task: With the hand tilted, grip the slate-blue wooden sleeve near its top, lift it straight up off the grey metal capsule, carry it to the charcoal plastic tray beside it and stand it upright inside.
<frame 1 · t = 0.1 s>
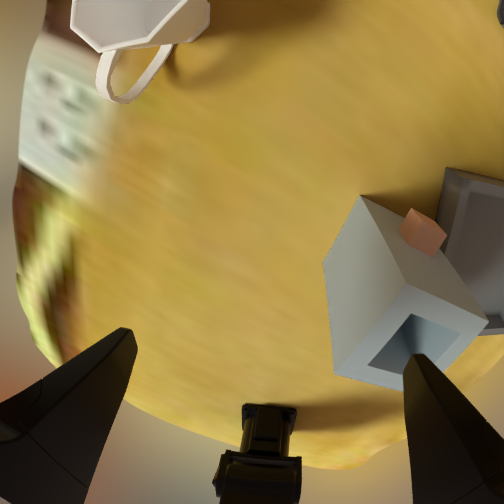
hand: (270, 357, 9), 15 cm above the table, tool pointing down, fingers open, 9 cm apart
tray: (481, 254, 22), on the table
sleeve: (374, 245, 23), on the table
cup: (173, 36, 17), on the table
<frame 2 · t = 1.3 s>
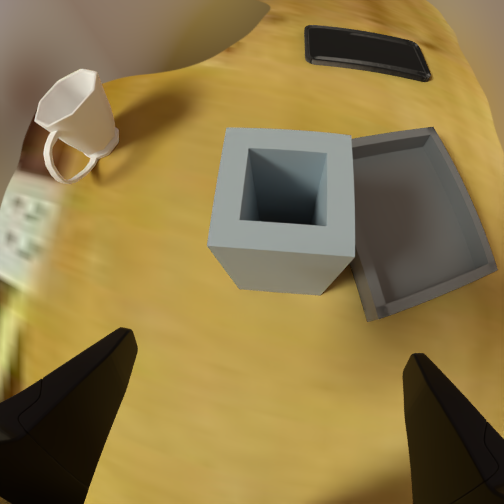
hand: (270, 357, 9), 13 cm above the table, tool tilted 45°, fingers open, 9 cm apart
tray: (403, 220, 24), on the table
sleeve: (282, 253, 24), on the table
cup: (98, 155, 28), on the table
phone: (366, 54, 30), on the table
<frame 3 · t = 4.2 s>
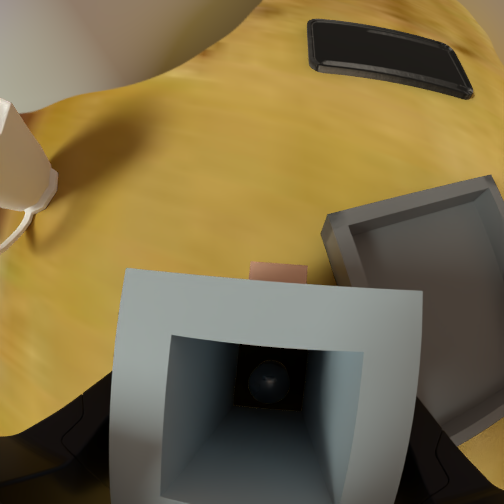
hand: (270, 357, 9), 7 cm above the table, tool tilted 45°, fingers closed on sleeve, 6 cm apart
grey metal capsule: (270, 376, 16), on the table
tray: (443, 316, 15), on the table
sleeve: (270, 376, 16), on the table, touching gripper
cup: (34, 208, 20), on the table
phone: (389, 59, 22), on the table
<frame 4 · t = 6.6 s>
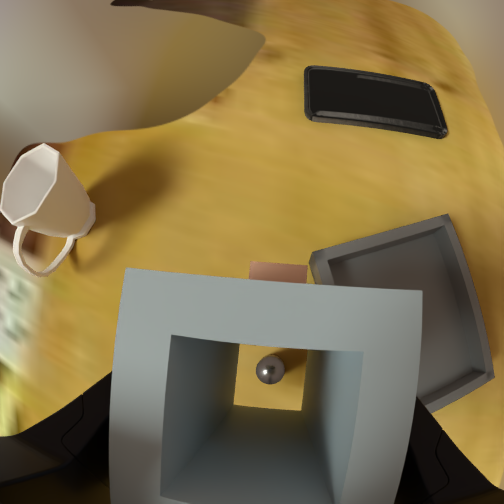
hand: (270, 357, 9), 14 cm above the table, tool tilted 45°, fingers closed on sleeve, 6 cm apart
grey metal capsule: (271, 366, 22), on the table
tray: (403, 324, 22), on the table
sleeve: (270, 376, 16), point 6 cm above the table, touching gripper
cup: (75, 234, 26), on the table
phone: (374, 103, 28), on the table
when the fingers open (9 cm above the table, at t = 9.2 s): sleeve drops 1 cm, resting on tray.
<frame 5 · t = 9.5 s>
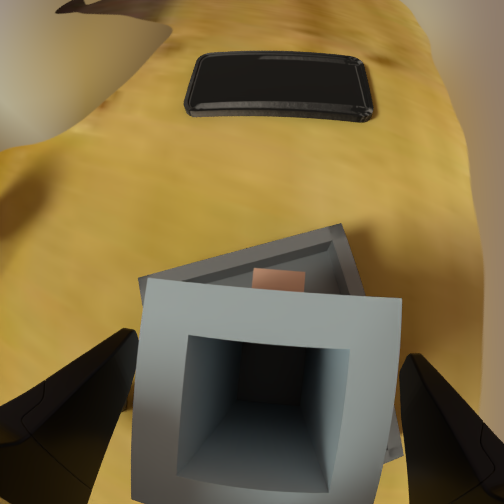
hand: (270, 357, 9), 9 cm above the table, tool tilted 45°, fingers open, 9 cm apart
tray: (271, 372, 17), on the table
sleeve: (271, 373, 17), point 1 cm above the table, touching tray
phone: (279, 87, 24), on the table
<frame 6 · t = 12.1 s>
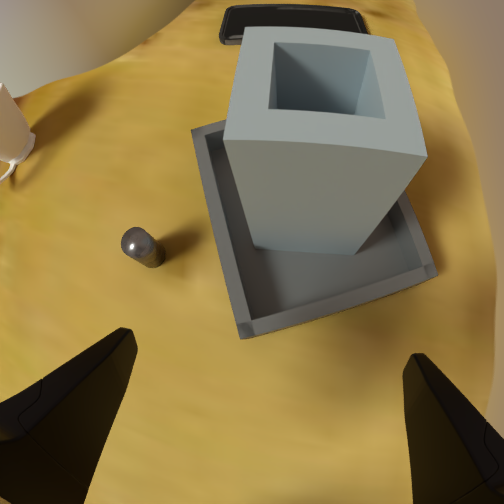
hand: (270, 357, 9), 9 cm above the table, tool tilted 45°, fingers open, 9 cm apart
grey metal capsule: (153, 254, 20), on the table
tray: (305, 211, 20), on the table
sleeve: (306, 206, 19), point 1 cm above the table, touching tray
cup: (17, 161, 25), on the table
phone: (294, 28, 27), on the table
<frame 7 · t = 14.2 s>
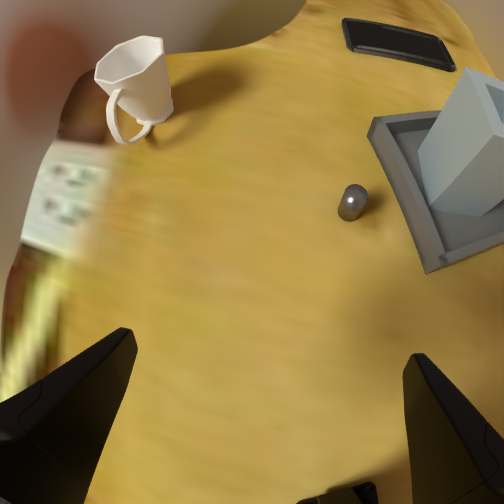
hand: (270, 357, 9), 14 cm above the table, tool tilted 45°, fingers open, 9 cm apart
grey metal capsule: (348, 211, 25), on the table
tray: (446, 187, 24), on the table
sleeve: (450, 182, 24), point 1 cm above the table, touching tray
cup: (151, 123, 29), on the table
phone: (397, 46, 31), on the table
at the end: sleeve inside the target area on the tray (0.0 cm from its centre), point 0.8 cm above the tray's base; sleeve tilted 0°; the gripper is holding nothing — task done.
